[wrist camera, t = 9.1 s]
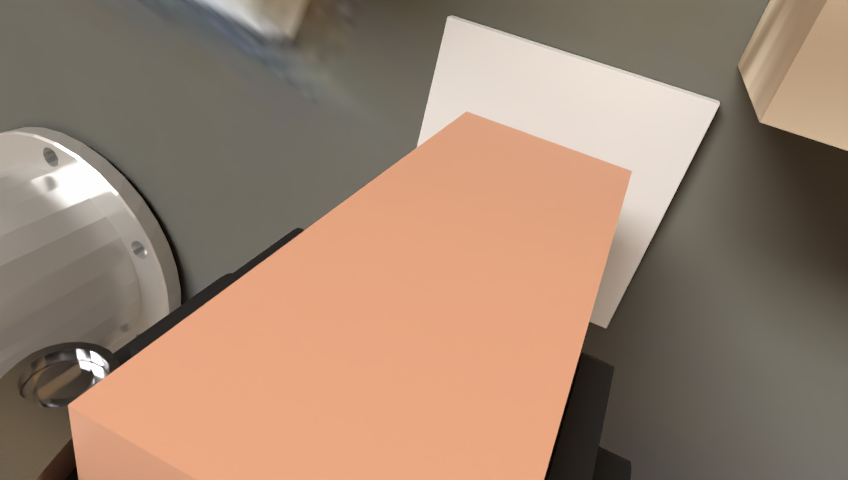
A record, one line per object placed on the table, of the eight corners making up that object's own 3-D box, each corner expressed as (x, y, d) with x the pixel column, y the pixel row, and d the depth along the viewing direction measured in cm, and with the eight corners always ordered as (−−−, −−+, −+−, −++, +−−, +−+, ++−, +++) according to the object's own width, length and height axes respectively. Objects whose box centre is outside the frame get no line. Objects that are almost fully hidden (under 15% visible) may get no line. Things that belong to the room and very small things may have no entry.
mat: (607, 322, 20) (606, 328, 20) (399, 235, 22) (395, 239, 22) (719, 100, 16) (719, 104, 16) (452, 15, 18) (447, 16, 17)
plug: (569, 309, 17) (388, 826, 7) (428, 249, 18) (99, 628, 8) (632, 171, 15) (495, 653, 5) (466, 111, 16) (67, 405, 6)
